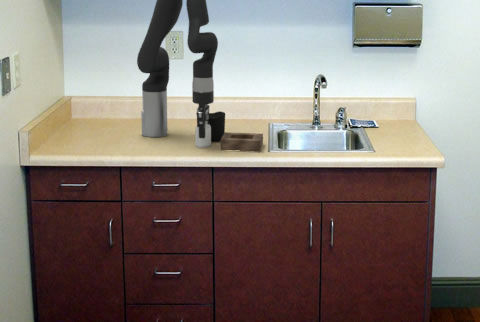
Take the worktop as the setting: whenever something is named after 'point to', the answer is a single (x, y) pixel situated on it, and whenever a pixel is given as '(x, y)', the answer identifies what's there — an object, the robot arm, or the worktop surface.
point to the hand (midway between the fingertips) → (203, 136)
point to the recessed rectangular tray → (242, 141)
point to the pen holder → (217, 125)
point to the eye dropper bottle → (203, 141)
